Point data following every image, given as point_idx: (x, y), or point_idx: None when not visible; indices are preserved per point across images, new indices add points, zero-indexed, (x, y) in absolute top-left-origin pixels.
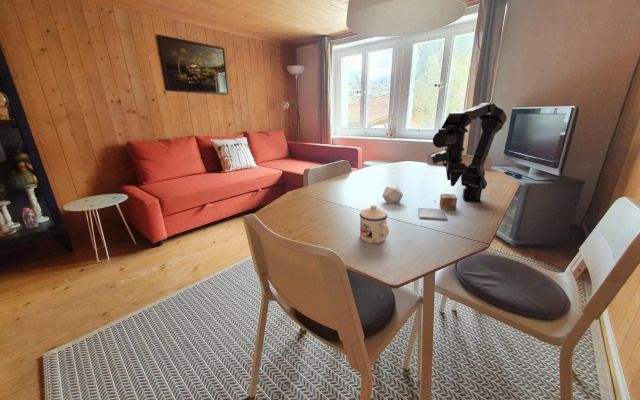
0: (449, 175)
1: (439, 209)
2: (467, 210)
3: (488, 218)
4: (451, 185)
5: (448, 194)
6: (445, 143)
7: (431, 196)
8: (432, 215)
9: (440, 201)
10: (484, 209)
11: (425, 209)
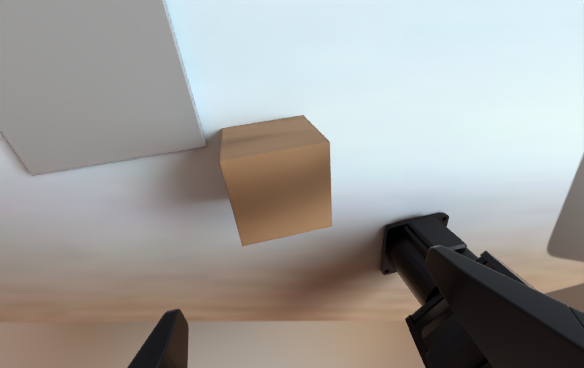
0: (472, 304)
1: (184, 122)
2: None
3: (195, 302)
4: (163, 320)
5: (319, 193)
6: None
7: (466, 57)
8: (14, 78)
9: (288, 128)
10: (297, 284)
11: (128, 14)
